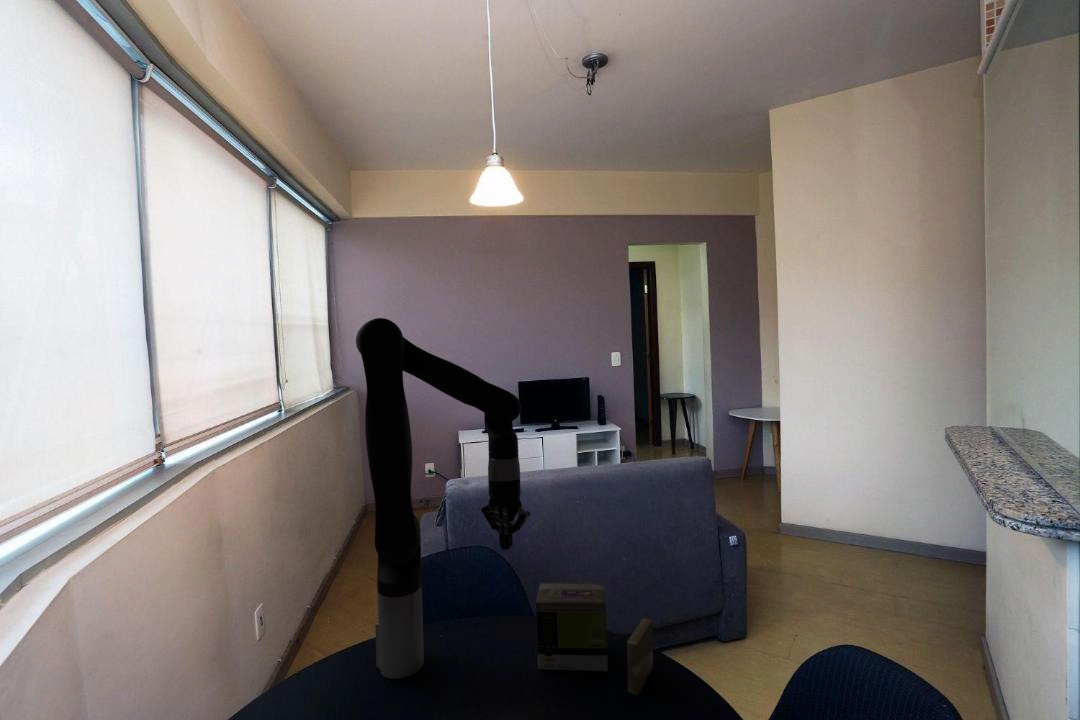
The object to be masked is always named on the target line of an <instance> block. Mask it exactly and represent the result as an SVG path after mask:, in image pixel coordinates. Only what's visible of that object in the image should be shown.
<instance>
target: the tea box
mask: <svg viewBox="0 0 1080 720" xmlns="http://www.w3.org/2000/svg"><path fill="white" fill-rule="evenodd" d="M605 594H606V593H605V583H603V582H539V586H538V590H537V596H536V600H535V622H536V623H535V625H536V650H537V651H536V652H537V669H538V670H549V671H553V670H554V671H584V672H585V671H586V672H608V671H609V660H608V655H609V654H608V633H607V632H608V631H607V629H608V628H607V626H608V625H607V606H606V595H605Z"/></svg>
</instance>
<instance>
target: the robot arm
mask: <svg viewBox="0 0 1080 720" xmlns="http://www.w3.org/2000/svg"><path fill="white" fill-rule="evenodd" d="M355 345H356V349H357V351H358V352H359V354H360V356H361V359H362V365H363V371H364V375H365V384H366V398H365V399H366V401H365V408H364V410H365V412H364V434H365V445H366V453H367V460H368V468H369V474H370V475H369V476H370V480H371V485H372V486H371V487H372V490H373V497H374V508H375V509H374V513H375V514H374V515H375V516H374V518H375V519H374V520H375V521H374V523H375V524H374V548H375V550H376V553H377V576H376V577H377V578H376V587H377V589H376V590H377V612H378V614H377V615H378V617H377V619H378V620H377V622H376V623H375V627H374V628H375V629H374V630H375V654H376V655H375V657H376V668H378V669H379V673H380V675H381V676H383V677H384V678H386V679H390V680H392V679H393V680H399V679H400V680H401V679H405V678H408V677H410V676H413V675H415V674H416V673H418V672H419V671H420V670H421V669H422V668H423V666H424V663H425V662H424V659H425V658H424V627H423V626H424V624H423V623H424V621H423V619H424V618H423V593H422V592H423V589H422V587H423V586H422V543H421V542H422V539H421V536H422V535H421V525H420V521H419V519H418V518H417V516H416V515H415V513H414V509H413V508H414V507H413V502H412V501H413V499H412V475H413V473H412V472H413V441H412V431H411V423H410V415H409V409H408V403H407V398H406V393H405V392H406V391H405V388H404V387H405V386H404V372H405V373H407V374H409V375H410V376H413V377H415V378H417V379H419V380H421V381H422V382H424V383H426V384H428V385H429V386H430V387H432V388H435V389H436V390H438V391H439V392H442V393H443V394H446V395H447V396H448V397H450V398H453V399H455V400H457V401H458V402H460V403H462V404H464V405H467V406H470V407H473V408H476V409H477V410H478V411H480V412H483V414H484V420H485V421H484V422H485V427H486V432H487V433H486V434H487V437H488V441H487V442H488V443H487V444H488V462H487V463H488V464H487V476H488V477H487V478H488V479H487V480H488V482H487V483H488V496H489V499H488V504H486V505H485V506H482V507H481V509H480V511H481V513H482V514H483V516H484V518H485V519H486V521H487V522H488V525H489V527H490V528H491V529H492V530H493V531H497V532H498V538H499V546H500V549H501V550H505V551H508V550H510V549H511V548H512V547H513V544H514V543H513V540H514V539H513V538H514V537H513V534H515V533H516V532H517V531H520V530H521V528H522V527H523V526H524V524H525V523H526V522H527V520H528V519H529V518H530V515H531V513H530V511H529V510H525V509H524V508H523V507H522V506H523V505H522V501H521V494H522V493H521V492H522V491H521V465H520V460H519V438H518V435H517V433H516V432H515V430H514V426H513V425H514V424H513V421H515V420H516V419H518V417H519V416H520V414H521V411H522V405H521V401H520V400H519V398H518V396H516V395H515V394H513V393H512V392H510V391H508V390H506V389H505V388H502V387H500V386H498V385H495V384H492V383H491V382H488V381H486V380H485V379H483V378H481V377H480V376H478V375H476V374H475V373H473V372H471V371H469V370H468V369H466V368H464V367H462V366H461V365H458V364H456V363H454V362H452V361H449V360H447V359H444V358H442V357H439V356H437V355H434V354H432V353H430V352H428V351H426V350H425V349H423V348H420V346H417V345H416V344H414V343H413V342H411V341H410V340H408V339H407V338H406V337H405V336H404V335H403V333H402V330H401V328H400V327H399V326H398V325H397V323H395V322H393V321H392V320H390V319H389V318H388V319H387V318H383V317H377V318H376V317H375V318H373V319H370V320H369V321H367V322H365V323H364V324H363V325H362V326H361V327H360V328H359V330H358V331H357V333H356V337H355ZM516 518H517V519H516Z"/></svg>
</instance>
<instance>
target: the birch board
mask: <svg viewBox="0 0 1080 720" xmlns="http://www.w3.org/2000/svg"><path fill="white" fill-rule="evenodd" d="M653 639H654V638H653V620H652V619H647V618H642V619H641V620H640V622H639V624H638V625H637V626H636V628H635V629H634V631H633V632H632V634H631V635H630V637H629V638H628V640H627V641H626V660H627V661H626V663H627V665H626V666H627V692H628V693H629V694H631V695H634V696H639V694H640V692H641V690H642V689H643V686H644V685H645V683H646V681H647V679H648V677H649V675H650V673H651V672H652V670H653V668H654V646H653V645H654V644H653V643H654V641H653Z"/></svg>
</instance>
